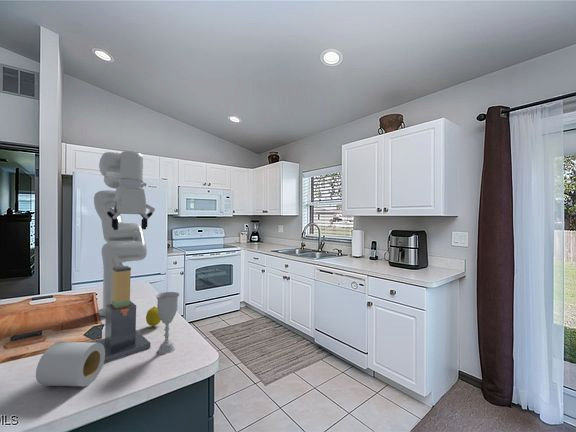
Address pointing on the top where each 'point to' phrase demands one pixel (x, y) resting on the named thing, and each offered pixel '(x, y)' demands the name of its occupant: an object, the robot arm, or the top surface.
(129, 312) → the stand
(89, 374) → the toilet paper
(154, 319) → the lemon
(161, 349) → the chalice
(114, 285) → the column
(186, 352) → the top surface
